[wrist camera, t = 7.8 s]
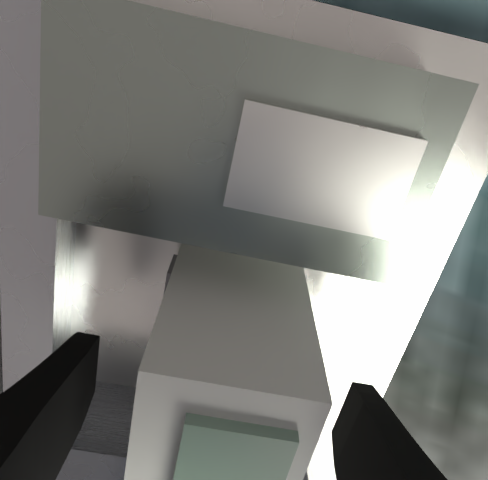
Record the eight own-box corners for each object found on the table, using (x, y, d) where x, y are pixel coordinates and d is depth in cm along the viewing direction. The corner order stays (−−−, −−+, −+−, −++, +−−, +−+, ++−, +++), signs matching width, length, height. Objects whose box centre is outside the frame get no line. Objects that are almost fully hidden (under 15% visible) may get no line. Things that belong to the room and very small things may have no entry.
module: (268, 378, 16) (276, 560, 11) (159, 359, 16) (108, 536, 11) (302, 264, 14) (335, 415, 9) (177, 240, 14) (126, 380, 8)
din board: (321, 495, 21) (337, 605, 17) (26, 447, 20) (-32, 553, 16) (517, 54, 13) (642, 65, 9) (27, -66, 12) (-95, -118, 8)
